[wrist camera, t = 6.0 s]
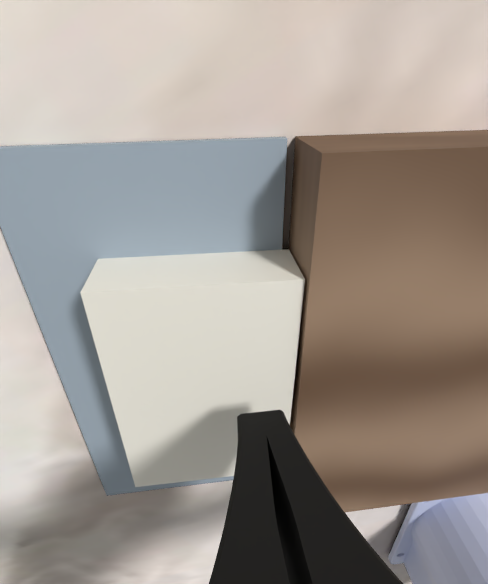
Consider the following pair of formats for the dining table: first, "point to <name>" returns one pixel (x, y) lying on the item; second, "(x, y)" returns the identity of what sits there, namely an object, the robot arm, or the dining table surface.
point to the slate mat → (127, 241)
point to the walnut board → (392, 314)
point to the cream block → (193, 353)
